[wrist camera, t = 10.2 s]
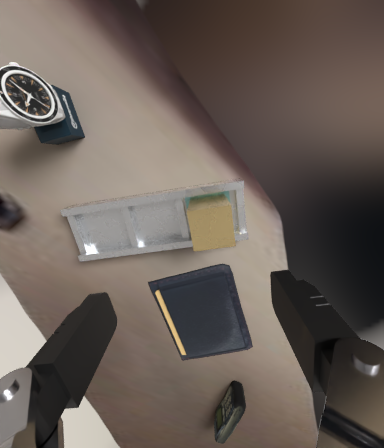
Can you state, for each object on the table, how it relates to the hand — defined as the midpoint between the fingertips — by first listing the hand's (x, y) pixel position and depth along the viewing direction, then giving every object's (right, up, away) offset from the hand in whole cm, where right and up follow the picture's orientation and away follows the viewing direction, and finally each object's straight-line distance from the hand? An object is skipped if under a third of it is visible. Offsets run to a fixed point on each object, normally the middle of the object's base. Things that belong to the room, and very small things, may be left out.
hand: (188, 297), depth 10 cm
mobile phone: (+8, -36, +35) cm, 51 cm away
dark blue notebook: (+2, -13, +28) cm, 31 cm away
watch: (-18, +18, +18) cm, 31 cm away
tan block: (+3, +5, +20) cm, 21 cm away
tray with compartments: (-5, +4, +22) cm, 23 cm away
